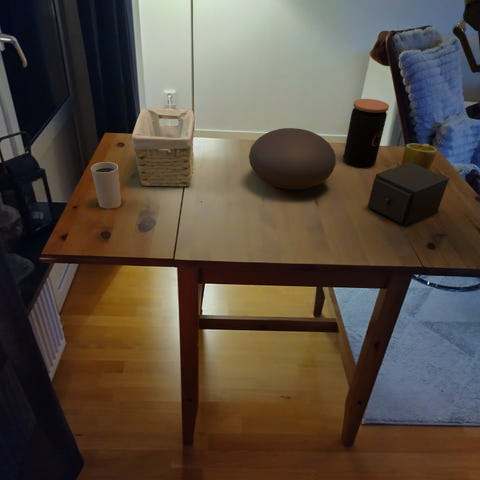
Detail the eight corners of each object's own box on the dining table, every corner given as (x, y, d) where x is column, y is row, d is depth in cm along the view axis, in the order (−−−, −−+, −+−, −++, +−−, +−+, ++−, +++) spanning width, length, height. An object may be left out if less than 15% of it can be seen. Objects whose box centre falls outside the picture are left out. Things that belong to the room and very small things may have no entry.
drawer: (398, 224, 119) (406, 196, 114) (364, 207, 126) (371, 180, 120) (431, 209, 126) (441, 182, 121) (398, 193, 133) (405, 167, 127)
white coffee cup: (121, 196, 126) (116, 160, 120) (124, 207, 122) (119, 171, 115) (96, 199, 125) (89, 163, 118) (98, 210, 120) (92, 173, 113)
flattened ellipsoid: (274, 159, 150) (279, 111, 140) (344, 180, 140) (354, 130, 130) (231, 185, 134) (232, 133, 125) (306, 211, 124) (314, 156, 114)
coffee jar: (371, 171, 146) (385, 111, 134) (338, 164, 149) (349, 105, 137) (378, 159, 154) (392, 102, 142) (347, 153, 157) (358, 96, 145)
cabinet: (405, 226, 120) (415, 192, 114) (367, 207, 128) (376, 173, 121) (437, 211, 127) (449, 178, 121) (400, 194, 135) (410, 161, 128)
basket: (192, 189, 131) (191, 137, 121) (135, 188, 130) (129, 135, 121) (196, 156, 149) (195, 108, 139) (145, 155, 148) (141, 107, 138)
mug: (426, 177, 139) (429, 142, 136) (394, 177, 146) (396, 144, 143) (442, 174, 147) (446, 141, 144) (412, 174, 154) (414, 143, 151)
